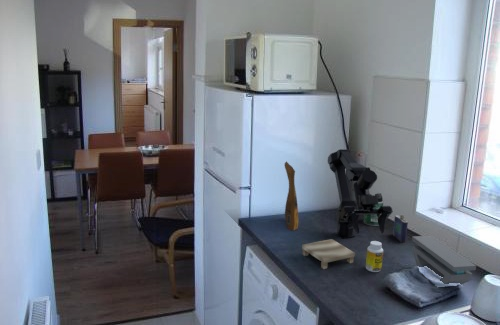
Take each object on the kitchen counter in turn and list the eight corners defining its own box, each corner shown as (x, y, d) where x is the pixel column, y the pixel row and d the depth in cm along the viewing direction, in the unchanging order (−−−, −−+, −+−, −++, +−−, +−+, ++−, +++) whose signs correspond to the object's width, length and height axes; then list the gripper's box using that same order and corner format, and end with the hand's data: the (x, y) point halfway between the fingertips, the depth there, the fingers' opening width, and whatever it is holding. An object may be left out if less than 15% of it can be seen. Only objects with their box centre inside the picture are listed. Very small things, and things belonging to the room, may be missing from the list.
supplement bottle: (373, 274, 160) (376, 247, 157) (362, 267, 164) (364, 241, 162) (384, 270, 163) (387, 244, 160) (372, 264, 167) (375, 238, 165)
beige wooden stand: (301, 254, 174) (302, 244, 173) (331, 248, 180) (331, 239, 179) (323, 269, 162) (324, 259, 161) (354, 262, 168) (355, 252, 167)
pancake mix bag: (283, 232, 196) (287, 169, 189) (281, 217, 214) (284, 159, 208) (299, 232, 196) (303, 170, 189) (295, 217, 214) (299, 159, 208)
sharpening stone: (471, 296, 147) (476, 265, 144) (449, 298, 145) (454, 267, 143) (428, 262, 171) (431, 235, 168) (409, 263, 169) (412, 236, 167)
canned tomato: (360, 221, 212) (362, 198, 210) (373, 219, 216) (375, 197, 213) (371, 226, 205) (373, 203, 203) (384, 224, 209) (387, 202, 206)
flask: (391, 234, 197) (394, 211, 195) (397, 234, 198) (400, 210, 195) (401, 242, 188) (404, 218, 186) (408, 242, 189) (411, 218, 186)
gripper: (345, 185, 166) (352, 224, 158) (393, 185, 169) (403, 223, 161) (336, 199, 176) (343, 236, 167) (382, 199, 178) (391, 236, 170)
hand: (370, 233), depth 166 cm, fingers open, 9 cm apart
